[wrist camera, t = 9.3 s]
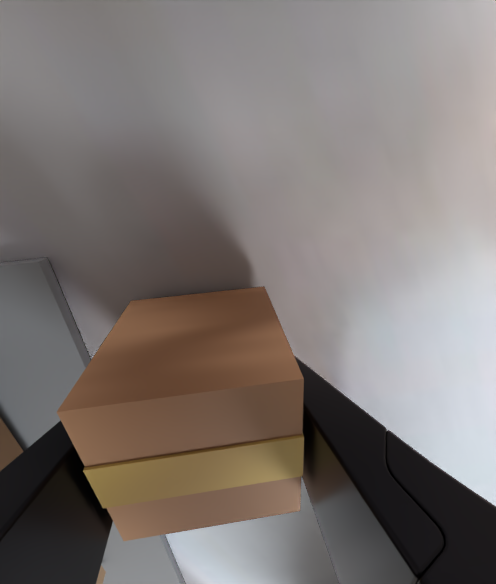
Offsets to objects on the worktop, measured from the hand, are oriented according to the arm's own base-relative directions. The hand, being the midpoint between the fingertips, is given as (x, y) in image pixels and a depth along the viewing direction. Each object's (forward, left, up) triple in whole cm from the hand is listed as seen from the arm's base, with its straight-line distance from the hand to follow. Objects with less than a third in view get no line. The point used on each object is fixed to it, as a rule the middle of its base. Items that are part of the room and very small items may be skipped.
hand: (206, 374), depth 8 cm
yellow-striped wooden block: (0, 0, -1) cm, 1 cm away
